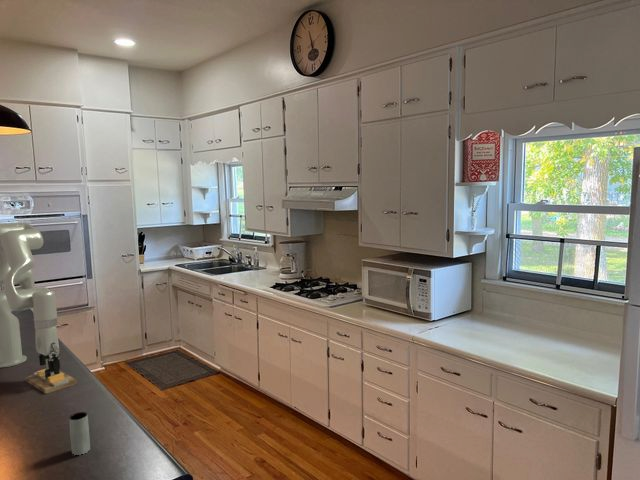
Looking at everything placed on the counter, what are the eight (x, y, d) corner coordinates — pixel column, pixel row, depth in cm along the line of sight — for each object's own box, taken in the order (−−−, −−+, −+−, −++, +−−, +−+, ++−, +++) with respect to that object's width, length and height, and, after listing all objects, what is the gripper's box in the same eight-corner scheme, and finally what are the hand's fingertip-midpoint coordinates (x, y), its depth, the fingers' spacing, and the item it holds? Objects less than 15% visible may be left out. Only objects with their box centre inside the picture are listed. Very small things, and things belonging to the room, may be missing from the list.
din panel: (25, 381, 180) (25, 377, 179) (56, 372, 188) (55, 368, 188) (45, 393, 168) (45, 389, 167) (77, 383, 176) (76, 379, 176)
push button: (40, 380, 174) (38, 354, 173) (39, 376, 178) (37, 350, 177) (61, 376, 177) (58, 350, 176) (59, 372, 182) (57, 347, 181)
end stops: (37, 374, 179) (36, 371, 179) (51, 370, 183) (50, 367, 183) (50, 382, 172) (49, 378, 172) (64, 378, 176) (64, 374, 176)
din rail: (33, 374, 182) (33, 372, 182) (47, 370, 186) (47, 368, 186) (54, 386, 170) (54, 384, 170) (68, 382, 174) (68, 380, 174)
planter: (76, 447, 131) (73, 412, 130) (92, 446, 132) (90, 411, 130) (69, 456, 127) (65, 420, 126) (86, 455, 127) (83, 419, 126)
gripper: (26, 321, 178) (30, 365, 180) (44, 329, 167) (48, 375, 169) (47, 317, 184) (51, 359, 186) (66, 324, 173) (70, 369, 175)
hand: (49, 367), depth 177 cm, fingers open, 9 cm apart
